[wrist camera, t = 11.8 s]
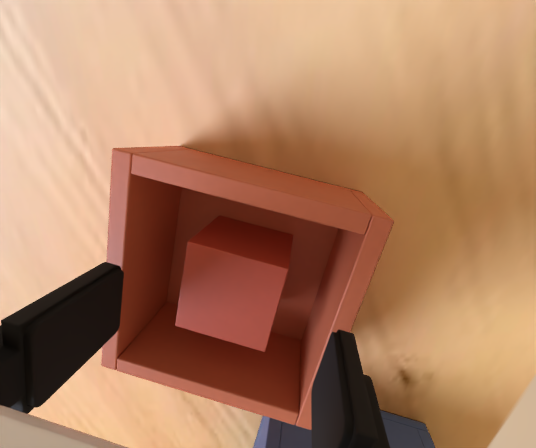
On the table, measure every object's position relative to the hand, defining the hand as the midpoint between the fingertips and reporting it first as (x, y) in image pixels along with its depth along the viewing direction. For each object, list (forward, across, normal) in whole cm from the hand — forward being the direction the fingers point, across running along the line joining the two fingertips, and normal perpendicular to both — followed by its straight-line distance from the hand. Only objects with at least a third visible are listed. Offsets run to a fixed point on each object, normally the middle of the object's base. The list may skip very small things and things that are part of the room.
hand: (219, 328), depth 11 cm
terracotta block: (+6, 0, 0) cm, 6 cm away
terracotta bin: (+6, 0, 0) cm, 6 cm away
